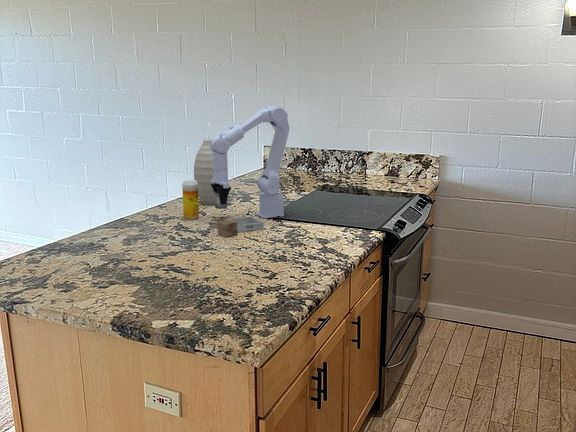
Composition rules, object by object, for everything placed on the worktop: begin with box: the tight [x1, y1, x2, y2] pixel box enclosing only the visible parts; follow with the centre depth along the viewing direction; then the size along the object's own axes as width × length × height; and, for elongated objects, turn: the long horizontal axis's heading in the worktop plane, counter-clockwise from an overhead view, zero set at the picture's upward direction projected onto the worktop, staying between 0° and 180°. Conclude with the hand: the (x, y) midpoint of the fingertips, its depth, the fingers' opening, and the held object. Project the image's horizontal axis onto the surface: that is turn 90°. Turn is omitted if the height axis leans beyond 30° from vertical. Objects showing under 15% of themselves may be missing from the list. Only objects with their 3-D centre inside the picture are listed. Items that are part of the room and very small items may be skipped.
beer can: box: [181, 179, 200, 221], centre depth 229 cm, size 6×6×15 cm
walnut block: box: [217, 218, 239, 239], centre depth 208 cm, size 5×5×5 cm
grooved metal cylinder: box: [214, 191, 228, 210], centre depth 226 cm, size 5×5×6 cm
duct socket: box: [225, 215, 264, 233], centre depth 218 cm, size 11×12×2 cm
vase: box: [193, 138, 215, 206], centre depth 252 cm, size 13×13×28 cm
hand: (221, 202), depth 226 cm, fingers closed on grooved metal cylinder, 5 cm apart
